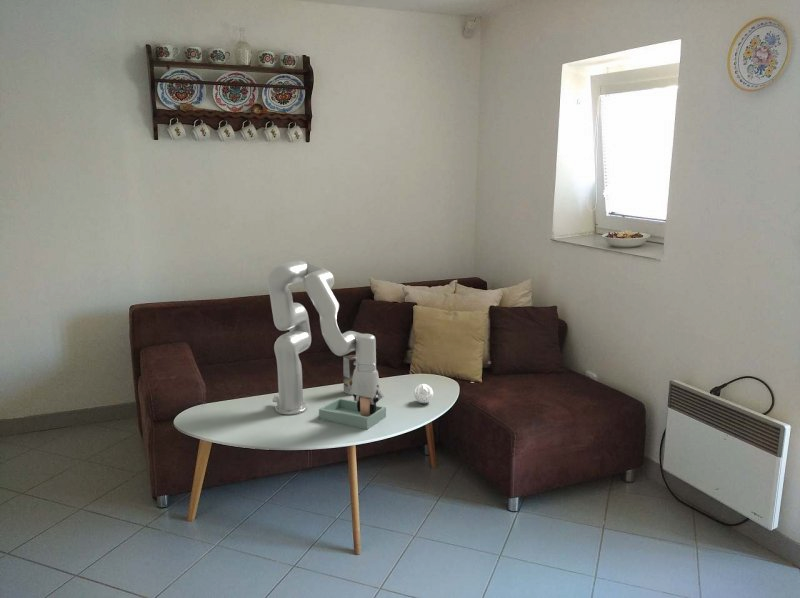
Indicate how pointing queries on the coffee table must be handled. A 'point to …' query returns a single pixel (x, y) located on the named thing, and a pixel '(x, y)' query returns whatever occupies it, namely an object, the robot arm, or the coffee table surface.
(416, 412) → the coffee table surface
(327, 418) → the tote
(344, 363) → the coffee box
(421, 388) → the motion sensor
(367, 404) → the terracotta cylinder
